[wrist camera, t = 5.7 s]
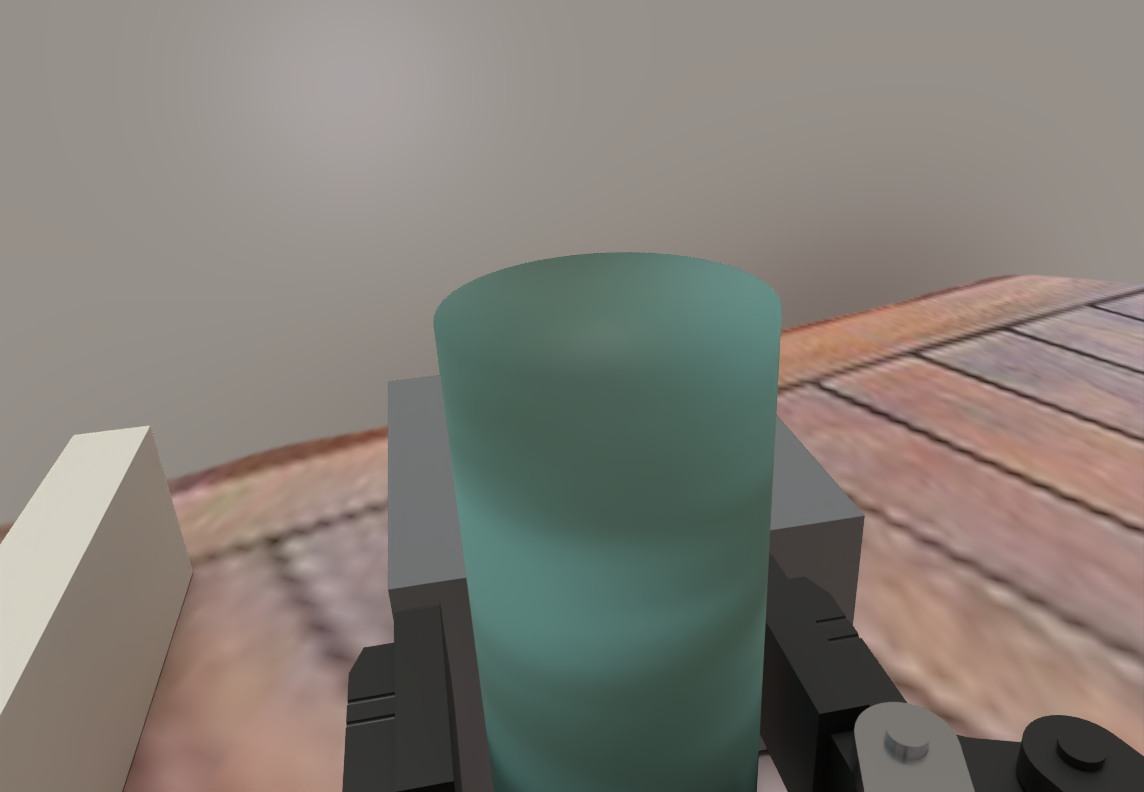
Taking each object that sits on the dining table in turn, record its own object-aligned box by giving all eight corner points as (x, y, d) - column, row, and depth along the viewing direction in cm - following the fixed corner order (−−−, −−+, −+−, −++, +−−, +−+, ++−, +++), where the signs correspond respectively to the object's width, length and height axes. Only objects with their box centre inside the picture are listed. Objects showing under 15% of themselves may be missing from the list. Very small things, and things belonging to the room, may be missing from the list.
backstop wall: (-283, 1526, 13) (-534, 1341, 10) (123, 582, 32) (73, 435, 30) (-98, 1476, 13) (-296, 1284, 10) (193, 571, 33) (150, 425, 30)
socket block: (428, 814, 23) (387, 589, 19) (415, 557, 32) (388, 381, 29) (841, 735, 24) (864, 515, 21) (710, 513, 34) (713, 341, 31)
